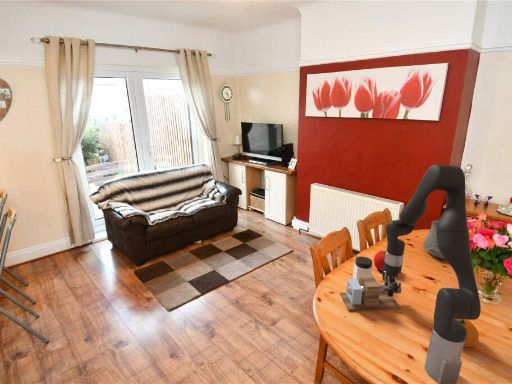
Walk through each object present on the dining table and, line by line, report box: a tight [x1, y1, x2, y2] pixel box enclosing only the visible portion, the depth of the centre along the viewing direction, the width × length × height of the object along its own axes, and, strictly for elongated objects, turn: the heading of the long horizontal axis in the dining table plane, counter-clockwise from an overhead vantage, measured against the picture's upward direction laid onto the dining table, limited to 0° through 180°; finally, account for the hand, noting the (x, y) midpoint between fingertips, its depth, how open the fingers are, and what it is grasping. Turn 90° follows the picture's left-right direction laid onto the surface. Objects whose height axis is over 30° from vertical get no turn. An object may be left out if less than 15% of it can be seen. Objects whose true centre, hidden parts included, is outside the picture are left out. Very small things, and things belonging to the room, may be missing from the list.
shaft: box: [346, 284, 402, 295], centre depth 137 cm, size 24×5×5 cm, turn 93°
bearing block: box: [339, 275, 402, 312], centre depth 138 cm, size 12×24×12 cm, turn 93°
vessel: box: [423, 219, 446, 260], centre depth 178 cm, size 22×22×20 cm
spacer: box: [345, 278, 363, 305], centre depth 137 cm, size 8×4×8 cm, turn 3°
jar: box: [352, 255, 373, 283], centre depth 154 cm, size 9×8×12 cm
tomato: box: [373, 250, 386, 272], centre depth 164 cm, size 10×11×11 cm
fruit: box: [455, 319, 480, 348], centre depth 116 cm, size 12×12×10 cm
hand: (388, 293), depth 138 cm, fingers closed on shaft, 3 cm apart
